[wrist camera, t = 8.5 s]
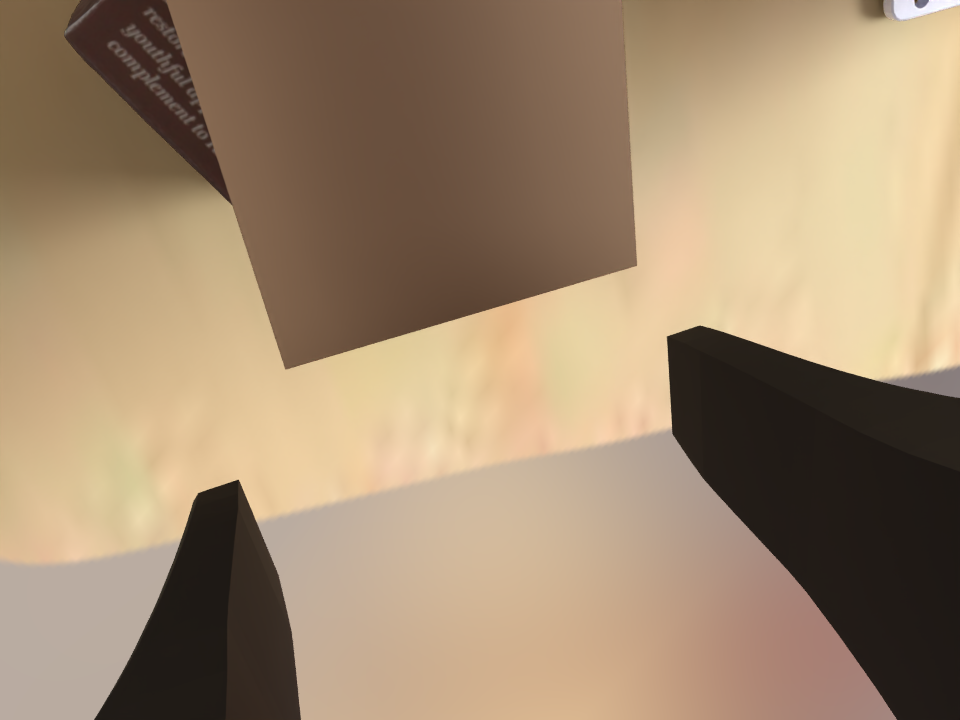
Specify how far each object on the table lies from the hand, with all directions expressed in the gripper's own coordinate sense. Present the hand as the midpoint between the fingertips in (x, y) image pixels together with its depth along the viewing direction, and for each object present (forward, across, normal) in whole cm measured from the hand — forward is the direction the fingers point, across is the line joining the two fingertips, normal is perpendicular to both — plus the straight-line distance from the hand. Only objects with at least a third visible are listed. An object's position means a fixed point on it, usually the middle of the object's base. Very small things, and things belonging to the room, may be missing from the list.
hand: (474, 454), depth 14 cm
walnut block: (+3, 0, -6) cm, 7 cm away
